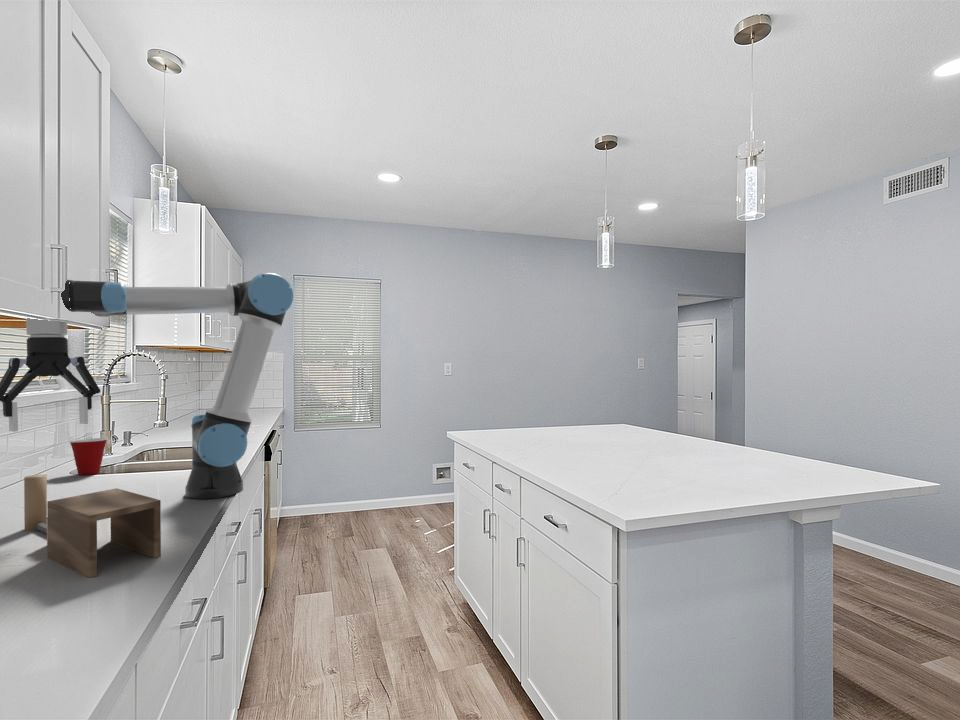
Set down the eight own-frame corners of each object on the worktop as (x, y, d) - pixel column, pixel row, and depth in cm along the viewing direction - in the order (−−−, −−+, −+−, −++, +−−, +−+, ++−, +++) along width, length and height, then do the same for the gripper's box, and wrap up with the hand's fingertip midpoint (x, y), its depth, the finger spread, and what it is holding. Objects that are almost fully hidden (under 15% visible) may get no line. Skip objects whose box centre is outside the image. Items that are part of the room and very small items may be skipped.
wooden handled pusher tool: (48, 523, 128) (47, 473, 128) (92, 542, 115) (92, 486, 115) (16, 530, 123) (15, 477, 123) (58, 551, 110) (58, 492, 110)
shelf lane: (116, 539, 117) (116, 488, 117) (160, 556, 107) (160, 500, 107) (47, 557, 106) (47, 501, 106) (89, 577, 97) (89, 515, 97)
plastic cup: (109, 469, 189) (109, 435, 189) (106, 475, 180) (106, 439, 180) (71, 472, 184) (71, 437, 184) (66, 478, 175) (66, 441, 175)
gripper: (100, 337, 138) (102, 419, 139) (-30, 336, 117) (-26, 433, 118) (114, 336, 134) (116, 421, 135) (-17, 335, 113) (-14, 435, 114)
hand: (50, 427), depth 126 cm, fingers open, 13 cm apart
